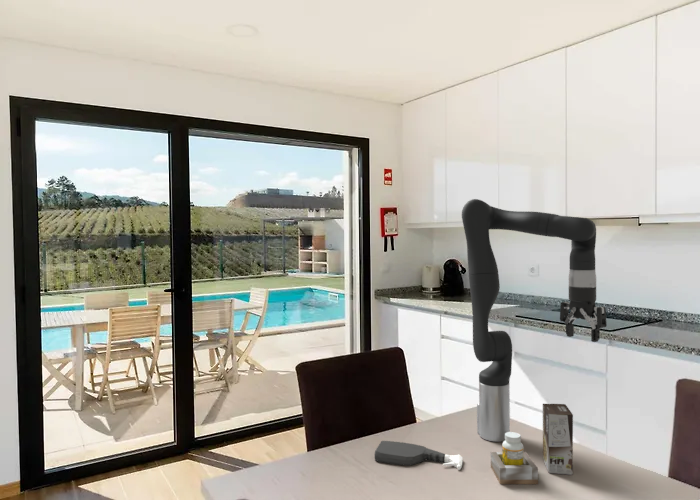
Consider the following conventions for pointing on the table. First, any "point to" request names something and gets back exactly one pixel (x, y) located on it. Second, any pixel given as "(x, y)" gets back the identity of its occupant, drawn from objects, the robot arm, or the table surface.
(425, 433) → the table surface
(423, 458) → the spray bottle
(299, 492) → the table surface
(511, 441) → the supplement bottle
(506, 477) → the post socket
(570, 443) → the coffee box
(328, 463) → the table surface
